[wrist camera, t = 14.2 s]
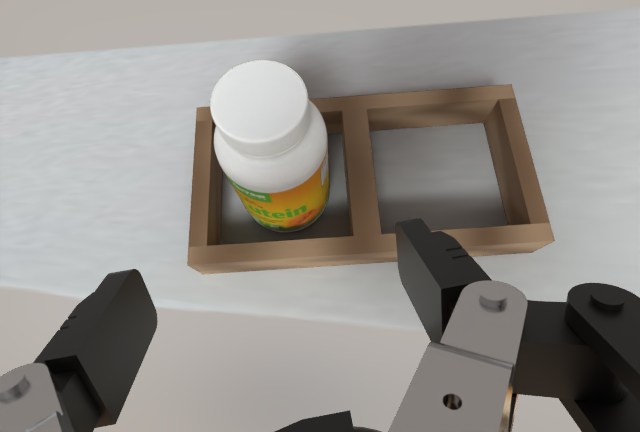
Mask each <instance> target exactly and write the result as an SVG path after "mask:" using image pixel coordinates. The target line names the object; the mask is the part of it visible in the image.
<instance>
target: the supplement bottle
mask: <svg viewBox="0 0 640 432" xmlns="http://www.w3.org/2000/svg"><path fill="white" fill-rule="evenodd" d="M210 109H211V115H212V118H213V120H214V122H215V124H216V128H215V133H214V148H215V153H216V156H217V159H218V161H219V164H220V166H221V168H222V169H223V171H224V173H225V174H226V176H227V177H228V179H229V181H230V182H231V184H232V185H233V187H234V189H235V190H236V192H237V194H238V195H239V197H240V199H241V200H242V202H243V204H244V205H245V207H246V209H247V210H248V212H249V213H250V215H251V216H252V217H253V219H254V220H255V221H256V222H258V223H259V224H260V225H262V226H263V227H265V228H267V229H269V230H273V231H276V232H294V231H298V230H301V229H303V228H306V227H307V226H309V225H311V224H312V223H313V222H315V221H316V220H317V219H318V218H319V217H320V215H321V214H322V213H323V211H324V209H325V207H326V204H327V201H328V197H329V171H328V141H327V131H326V126H325V123H324V120H323V118H322V115H321V114H320V112H319V110H318V109H317V107H316V106H315V105H314V104H313V103H312V102H311V101H310V100H309V98H308V92H307V89H306V86H305V84H304V82H303V80H302V78H301V77H300V76H299V74H298V73H296V72H295V71H294V70H293V69H292V68H290V67H289V66H287V65H285V64H282V63H280V62H277V61H272V60H253V61H248V62H245V63H242V64H240V65H237V66H235V67H234V68H232V69H231V70H229V71H228V72H226V73H225V74H224V75H223V76H222V77H221V78H220V80H219V81H218V82H217V84H216V85H215V87H214V89H213V92H212V95H211V100H210Z"/></svg>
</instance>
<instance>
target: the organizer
mask: <svg viewBox="0 0 640 432" xmlns="http://www.w3.org/2000/svg"><path fill="white" fill-rule="evenodd" d="M309 100H310V101H311V102H312V103H313V104H314V105H315V106H316V107H317V109H318V110H319V112H320V114H321V115H322V118H323V120H324V123H325V126H326V131H327V134H332V133H342V142H343V153H344V165H345V176H346V187H347V198H348V210H349V221H350V232H351V236H346V237H331V238H316V239H301V240H286V241H272V242H257V243H242V244H227V245H220V236H221V204H222V172H223V169H222V168H221V166H220V164H219V161H218V159H217V156H216V153H215V148H214V133H215V128H216V124H215V122H214V120H213V118H212V115H211V109H210V107H199V108H197V114H196V131H195V147H194V164H193V180H192V197H191V213H190V230H189V247H188V263H187V265H188V266H190V267H191V268H193V269H195V270H196V271H198V272H200V273H202V274H213V273H228V272H243V271H259V270H274V269H289V268H304V267H319V266H335V265H350V264H365V263H380V262H395V261H398V258H397V245H396V233H391V234H381V226H380V217H379V209H378V200H377V192H376V183H375V175H374V166H373V158H372V149H371V141H370V132H369V131H373V130H387V129H401V128H415V127H429V126H443V125H457V124H470V123H484V126H485V130H486V134H487V138H488V143H489V147H490V151H491V155H492V159H493V164H494V168H495V172H496V176H497V181H498V185H499V189H500V193H501V198H502V202H503V206H504V210H505V214H506V219H507V223H508V226H495V227H480V228H465V229H450V230H435V231H431V232H436V231H442V232H444V233H446V234H448V235H450V236H452V237H454V238H455V239H456V240H457V241H458V242H459V244H460V245H461V246H462V248H464V249H465V250H466V251H467V253H468V254H469V256H486V255H502V254H517V253H532V252H534V251H536V250H538V249H540V248H542V247H544V246H546V245H547V244H549V243H551V242H553V241H555V240H554V236H553V233H552V229H551V225H550V222H549V218H548V215H547V211H546V207H545V204H544V200H543V197H542V193H541V189H540V186H539V182H538V178H537V175H536V171H535V168H534V164H533V160H532V157H531V153H530V149H529V146H528V142H527V139H526V135H525V131H524V128H523V124H522V120H521V117H520V113H519V110H518V106H517V102H516V99H515V95H514V91H513V88H512V84H510V85H496V86H483V87H469V88H456V89H442V90H429V91H415V92H402V93H388V94H375V95H361V96H348V97H334V98H320V99H309Z"/></svg>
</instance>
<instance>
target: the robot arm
mask: <svg viewBox="0 0 640 432" xmlns="http://www.w3.org/2000/svg"><path fill="white" fill-rule="evenodd" d="M395 232H396V245H397V258H398V269H399V274H400V278H401V281H402V284H403V286H404V288H405V290H406V292H407V294H408V296H409V298H410V300H411V302H412V304H413V306H414V308H415V310H416V312H417V314H418V316H419V318H420V320H421V322H422V324H423V326H424V328H425V330H426V332H427V334H428V336H429V338H430V340H431V342H430V343H429V345H428V347H427V349H426V351H425V353H424V355H423V358H422V359H421V362H420V364H419V366H418V368H417V370H416V372H415V375H414V377H413V379H412V381H411V383H410V385H409V388H408V390H407V392H406V394H405V396H404V399H403V401H402V403H401V405H400V407H399V410H398V412H397V414H396V416H395V418H394V420H393V423H392V425H391V427H390V429H389V431H388V432H512V426H513V422H514V416H515V411H516V405H517V399H518V394H523V395H533V396H543V397H554V398H559V400H560V401H561V402H562V404H563V405H564V407H565V408H566V410H567V411H568V412H569V414H570V415H571V417H572V418H573V420H574V421H575V422H576V424H577V425H578V427H579V428H580V430H581V431H582V432H640V298H639V297H638V296H636V295H635V294H633V293H631V292H629V291H627V290H625V289H622V288H619V287H616V286H612V285H608V284H601V283H585V284H580V285H577V286H575V287H573V288H572V289H571V290H570V291H569V292H568V297H567V302H543V301H530V300H527V299H526V297H525V295H524V294H523V293H522V292H521V291H520V290H518V289H517V288H515V287H514V286H511V285H509V284H506V283H503V282H499V281H492V280H491V279H490V277H489V276H488V275H487V274H486V273H485V272H484V271H483V270H482V268H481V267H480V266H479V265H478V264H477V263H476V262H475V261H474V259H473V258H472V257H471V256H469V254H468V253H467V251H466V250H465V249H464V248H462V246H461V245H460V244H459V242H458V241H457V240H456V239H455V238H454V237H452V236H450V235H448V234H446V233H444V232H442V231H436V232H431V231H430V230H429V228H428V227H427V226H426V224H425V223H424V222H423V221H422V220H421V219H420V218H419V219H414V220H408V221H402V222H397V223H396V226H395ZM156 328H157V313H156V309H155V307H154V304H153V302H152V300H151V297H150V295H149V292H148V290H147V288H146V285H145V283H144V281H143V278H142V276H141V274H140V272H139V271H138V270H136V269H131V270H126V271H120V272H115V273H110V274H108V275H107V276H106V277H105V279H104V280H103V281H102V283H101V284H100V285H99V287H98V288H97V289H96V291H95V292H94V293H92V294H91V295H89V296H88V297H87V298H86V299H84V300H83V301H82V302H81V303H79V304H78V305H77V306H76V308H75V309H74V310H73V312H72V313H71V314H70V316H69V317H68V320H66V321H65V322H64V323H63V325H62V326H61V327H60V330H58V331H57V332H56V334H55V335H54V336H53V338H52V339H51V340H50V342H49V343H48V344H47V345H46V347H45V348H44V349H43V351H42V352H41V353H40V355H39V356H38V357H37V359H36V360H35V361H34V362H33V363H32V364H27V365H23V366H20V367H18V368H15V369H13V370H11V371H9V372H7V373H6V374H4V375H2V376H1V377H0V432H93V430H94V428H97V427H102V426H107V425H113V424H116V422H117V419H118V417H119V415H120V412H121V410H122V408H123V405H124V403H125V401H126V398H127V396H128V394H129V391H130V389H131V386H132V384H133V382H134V380H135V377H136V375H137V373H138V370H139V368H140V366H141V363H142V361H143V358H144V356H145V354H146V352H147V349H148V347H149V345H150V342H151V340H152V338H153V335H154V333H155V330H156ZM275 432H381V431H378V430H374V429H369V428H364V427H353V424H352V419H351V414H350V411H345V412H340V413H334V414H329V415H324V416H319V417H313V418H308V419H303V420H300V421H298V422H296V423H293V424H291V425H289V426H287V427H284V428H282V429H280V430H278V431H275Z"/></svg>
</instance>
